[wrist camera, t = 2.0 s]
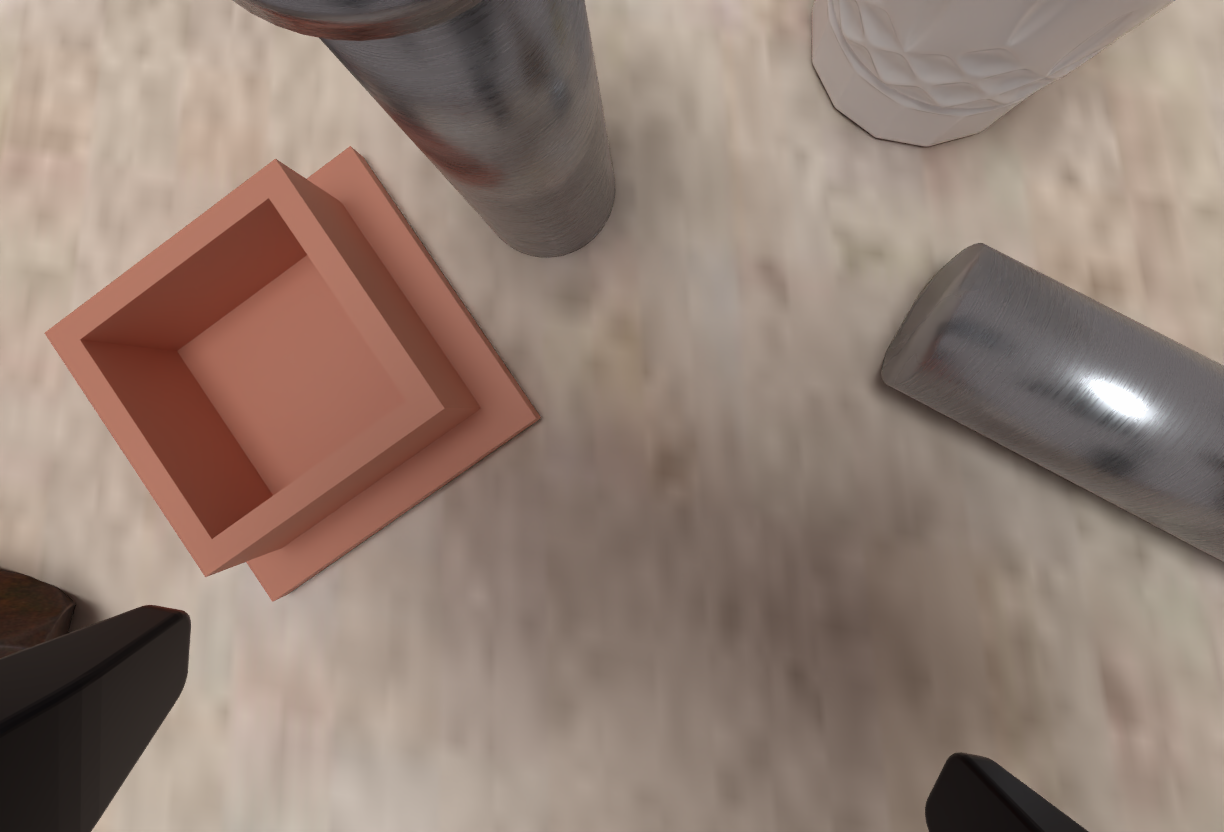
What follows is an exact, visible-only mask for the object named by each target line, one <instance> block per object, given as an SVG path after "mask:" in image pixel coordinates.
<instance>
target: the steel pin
mask: <svg viewBox="0 0 1224 832" xmlns="http://www.w3.org/2000/svg"><path fill="white" fill-rule="evenodd" d="M233 1H234V2H236V3H237V4H238V5H240V6H241V7H243V8H244V9H246V10H247V11H249V12H250V13H252V14H254V15H256V16H258V17H260V18H262V19H264V20H266V21H268V22H270V23H272V24H274V25H276V26H279V27H282V28H285V29H288V30H291V31H294V32H297V33H300V34H303V35H309V36H314V37H319V38H320V39H321V40H322V42H323V43H324V44H325V45H326V46H327V47H328V48H329V49H330V50H331V51H332V53H333V54H334V55H335V56H336V57H337V58H338V59H339V60H340V61H341V63H342V64H343V65H344V66H345V67H346V68H347V69H348V70H349V71H350V73H351V74H352V75H353V76H354V77H355V78H356V79H357V80H358V81H359V82H360V84H361V85H362V86H363V87H364V88H365V89H366V90H367V91H368V92H369V94H370V95H371V96H372V97H373V98H374V99H375V100H376V101H377V102H378V103H379V105H380V106H381V107H382V108H383V109H384V110H385V111H386V112H387V113H388V115H389V116H390V117H391V118H392V119H393V120H394V121H395V122H396V123H397V124H398V126H399V127H400V128H401V129H402V130H403V131H404V132H405V133H406V134H407V136H408V137H409V138H410V139H411V140H412V141H413V142H414V143H415V144H416V146H417V147H418V148H419V149H420V150H421V151H422V152H423V153H424V154H425V155H426V157H427V158H428V159H429V160H430V161H431V162H432V163H433V164H434V165H435V167H436V168H437V169H438V170H439V171H440V172H441V173H442V174H443V175H444V176H445V178H446V179H447V180H448V181H449V182H450V183H451V184H452V185H453V186H454V188H455V189H456V190H457V191H458V192H459V193H460V194H461V195H462V196H463V197H464V199H465V200H466V201H467V202H468V203H469V204H470V205H471V206H472V207H473V209H474V210H475V211H476V212H477V213H478V214H479V215H480V216H481V217H482V219H483V220H484V221H485V222H486V223H487V224H488V225H489V226H490V227H491V228H492V230H493V231H494V232H495V233H496V234H497V235H498V236H499V237H500V238H501V239H502V240H503V241H504V242H505V243H506V244H508V245H509V246H511V247H512V248H514V249H516V250H518V251H520V252H522V253H525V254H528V255H532V256H537V257H557V256H562V255H566V254H568V253H571V252H574V251H576V250H578V249H580V248H581V247H583V246H584V245H586V244H587V243H589V242H590V241H591V240H592V239H593V238H594V237H595V236H596V235H597V234H598V233H599V232H600V231H601V229H602V228H603V226H604V225H605V223H606V221H607V219H608V217H609V215H610V213H611V210H612V207H613V202H614V198H615V178H614V172H613V166H612V160H611V154H610V148H609V142H608V136H607V131H606V125H605V119H604V113H603V107H602V101H601V95H600V89H599V83H598V77H597V71H596V65H595V59H594V53H593V47H592V42H591V36H590V30H589V24H588V18H587V12H586V6H585V0H233Z"/></svg>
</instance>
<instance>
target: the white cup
mask: <svg viewBox="0 0 1224 832" xmlns="http://www.w3.org/2000/svg"><path fill="white" fill-rule="evenodd" d="M1174 1H1175V0H815V2H814V5H813V8H812V63H813V66H814V68H815V70H816V72H817V74H818V76H819V77H820V79H821V81H822V83H823V85H824V87H825V89H826V91H827V93H828V95H829V97H830V99H831V101H832V103H833V105H834V107H835V108H836V109H837V110H839V111H840V112H841V113H843V114H844V115H845V116H847V117H848V118H850V119H851V120H852V121H854V122H855V123H856V124H858V125H859V126H860V127H862V128H863V129H864V130H866V131H867V132H869V133H870V134H871V135H873V136H874V137H876V138H880V139H886V140H892V141H897V142H903V143H908V144H914V145H919V146H925V147H928V146H932V145H936V144H939V143H943V142H947V141H951V140H955V139H958V138H962V137H966V136H970V135H974V134H977V133H980V132H982V131H983V130H984V129H986V128H987V127H988V126H990V125H991V124H992V123H994V122H995V121H996V120H998V119H999V118H1000V117H1002V116H1003V115H1004V114H1006V113H1007V112H1008V111H1010V110H1011V109H1012V108H1014V107H1015V106H1016V105H1018V104H1019V103H1020V102H1022V101H1023V100H1024V99H1026V98H1027V97H1029V96H1030V95H1032V94H1033V93H1035V92H1036V91H1038V90H1039V89H1041V88H1043V87H1045V86H1047V85H1049V84H1051V83H1053V82H1054V81H1056V80H1058V79H1060V78H1063V77H1065V76H1066V75H1067V74H1068V73H1070V72H1071V71H1072V70H1074V69H1076V68H1077V67H1079V66H1080V65H1082V64H1083V63H1085V62H1086V61H1088V60H1089V59H1091V58H1092V57H1094V56H1095V55H1097V54H1098V53H1099V52H1101V51H1102V50H1104V49H1105V48H1107V47H1108V46H1109V45H1111V44H1112V43H1114V42H1115V41H1116V40H1118V39H1119V38H1120V37H1122V36H1123V35H1125V34H1126V33H1128V32H1129V31H1131V30H1132V29H1134V28H1136V27H1137V26H1139V25H1140V24H1142V23H1143V22H1145V21H1146V20H1148V19H1149V18H1151V17H1152V16H1154V15H1155V14H1157V13H1158V12H1160V11H1161V10H1163V9H1164V8H1165V7H1167V6H1168V5H1170V4H1171V3H1172V2H1174Z"/></svg>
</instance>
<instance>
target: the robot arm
mask: <svg viewBox="0 0 1224 832" xmlns="http://www.w3.org/2000/svg"><path fill="white" fill-rule="evenodd" d="M190 632H191V620H190V617H189V615H188V614H187V613H186V612H185V611H182V610H177V609H172V608H166V607H161V606H155V605H146V606H142V607H139V608H136V609H133V610H130V611H128V612H125V613H122V614H119V615H117V616H114V617H111V618H109V619H106V620H103V621H100V622H98V623H95V624H92V625H90V626H87V627H84V628H81V629H79V630H76V631H73V632H71V633H68V634H65V635H62V636H60V637H57V638H54V639H52V640H49V641H46V642H43V643H41V644H38V645H35V646H33V647H30V648H27V649H24V650H22V651H19V652H16V653H14V654H11V655H8V656H5V657H3V658H0V832H91V831H92V829H93V828H94V827H95V825H96V824H97V822H98V821H99V819H100V818H101V816H102V815H103V813H104V811H105V810H106V808H107V807H108V805H109V804H110V802H111V801H112V799H113V798H114V796H115V795H116V793H117V792H118V790H119V788H120V787H121V785H122V784H123V782H124V781H125V779H126V778H127V776H128V775H129V773H130V772H131V770H132V769H133V767H134V765H135V764H136V762H137V761H138V759H139V758H140V756H141V755H142V753H143V752H144V750H145V749H146V747H147V745H148V744H149V742H150V741H151V739H152V738H153V736H154V735H155V733H156V732H157V730H158V729H159V727H160V726H161V724H162V722H163V721H164V719H165V718H166V716H167V715H168V713H169V712H170V710H171V709H172V707H173V706H174V704H175V702H176V701H177V699H178V698H179V696H180V694H181V692H182V690H183V688H184V685H185V682H186V678H187V673H188V661H189V647H190ZM925 817H926V823H927V827H928V830H929V832H1088V831H1087V830H1086V829H1084V828H1083V827H1082V826H1080V825H1079V824H1077V823H1076V822H1075V821H1073V820H1072V819H1071V818H1069V817H1068V816H1067V815H1065V814H1064V813H1063V812H1061V811H1060V810H1059V809H1057V808H1056V807H1055V806H1053V805H1052V804H1051V803H1049V802H1048V801H1047V800H1045V799H1044V798H1043V797H1041V796H1040V795H1039V794H1037V793H1036V792H1035V791H1033V790H1032V789H1031V788H1029V787H1028V786H1027V785H1025V784H1024V783H1023V782H1021V781H1020V780H1018V779H1017V778H1016V777H1014V776H1013V775H1012V774H1010V773H1009V772H1008V771H1006V770H1005V769H1004V768H1002V767H1001V766H1000V765H998V764H997V763H996V762H994V761H993V760H991V759H989V758H986V757H983V756H978V755H972V754H967V753H954V754H953V755H951V756H950V757H949V758H948V759H947V761H946V763H945V765H944V767H943V769H942V771H941V773H940V775H939V777H938V779H937V781H936V783H935V785H934V787H933V789H932V791H931V793H930V795H929V797H928V799H927V801H926V807H925Z"/></svg>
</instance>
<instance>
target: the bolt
mask: <svg viewBox="0 0 1224 832" xmlns="http://www.w3.org/2000/svg"><path fill="white" fill-rule="evenodd" d="M75 604H76V603H74V602H73V601H72V600H71V599H70V598H69V597H68V596H67V595H66V594H64V593H63V592H62V591H61V590H59V589H58V588H57V587H55V586H53V585H50V584H47V583H45V582H42V581H39V580H37V579H35V578H32V577H30V576H27V575H24V574H20V573H14V572H7V571H0V658H3V657H5V656H8V655H11V654H14V653H16V652H19V651H22V650H24V649H27V648H30V647H33V646H35V645H38V644H41V643H43V642H46V641H49V640H52V639H54V638H57V637H60V636H62V635H65V634H67V633H68V629H69V626H70V622H71V619H72V615H73V611H74V607H75Z"/></svg>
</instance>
